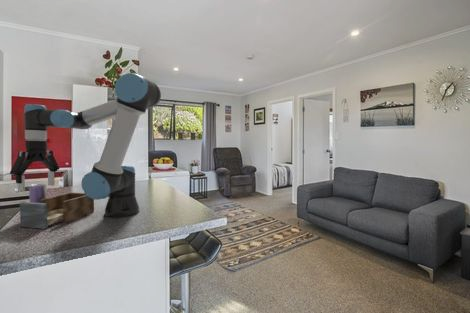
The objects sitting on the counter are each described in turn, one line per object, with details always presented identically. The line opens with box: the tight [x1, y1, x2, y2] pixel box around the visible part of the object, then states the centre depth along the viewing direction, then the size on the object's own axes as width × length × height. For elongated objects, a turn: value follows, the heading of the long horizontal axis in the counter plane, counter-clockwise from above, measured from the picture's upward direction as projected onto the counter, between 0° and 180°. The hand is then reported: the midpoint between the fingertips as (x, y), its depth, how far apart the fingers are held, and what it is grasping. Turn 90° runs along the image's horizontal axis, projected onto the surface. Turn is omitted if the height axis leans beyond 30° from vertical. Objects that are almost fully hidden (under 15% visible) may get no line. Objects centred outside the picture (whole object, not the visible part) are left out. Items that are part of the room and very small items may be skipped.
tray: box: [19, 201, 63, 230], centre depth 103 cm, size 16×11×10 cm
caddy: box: [39, 192, 95, 223], centre depth 111 cm, size 16×13×9 cm
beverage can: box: [28, 183, 48, 203], centre depth 108 cm, size 6×6×15 cm
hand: (37, 188), depth 108 cm, fingers open, 13 cm apart
